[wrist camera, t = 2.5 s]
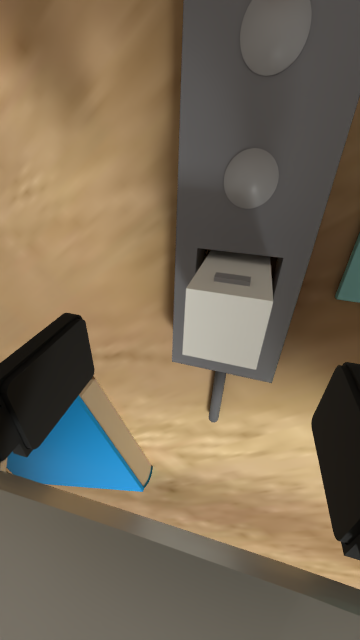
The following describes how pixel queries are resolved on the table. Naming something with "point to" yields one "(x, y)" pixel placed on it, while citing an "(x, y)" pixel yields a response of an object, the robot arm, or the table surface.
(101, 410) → the book
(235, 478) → the table surface
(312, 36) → the power strip
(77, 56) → the table surface
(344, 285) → the mat
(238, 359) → the charger plug
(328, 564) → the table surface
